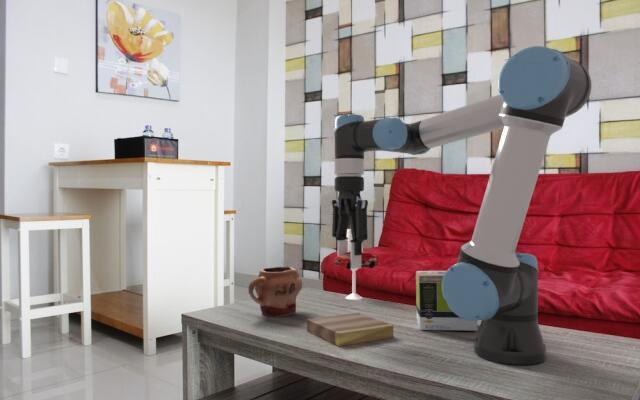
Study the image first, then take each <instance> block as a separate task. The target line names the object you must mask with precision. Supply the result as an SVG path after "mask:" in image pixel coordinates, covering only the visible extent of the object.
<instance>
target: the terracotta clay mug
mask: <svg viewBox="0 0 640 400" xmlns="http://www.w3.org/2000/svg"><path fill="white" fill-rule="evenodd" d="M302 288H303V281H302V279H301V277H300V274H299V272H298V270H297V269H296V268H294V267H292V266H289V267H288V266H278V267H277V266H276V267H267V268H266V267H265V268H262V269H260V271H259V273H258V277H256V278H253V279H252V280H251V281H250V282H249V286H248V294H249V295H250V298H251V300H253V302H255V303H256V304H258V305H259V306H260V307H259V308H260V311H261V314H262V315H264V316H267V317H273V318H275V317H276V318H278V317H286V316H291V315H294V314H296V311H297V302H296V301H297V296H298V295H299V293H301V290H302ZM254 291H255V293H256V295H257V297H256V295H255V294H254Z"/></svg>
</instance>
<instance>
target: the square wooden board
mask: <svg viewBox="0 0 640 400" xmlns="http://www.w3.org/2000/svg"><path fill="white" fill-rule="evenodd" d="M306 331H307V332H308V333H311V334H313V335H314V336H316V337H319V338H321V339H323V340H326V341H327V342H328V343H331V344H333V345H335V346H337V347H341V346H348V345H354V344H361V343H368V342H373V341H379V340H386V339H390V338H391V339H392V338H394V324H391V323H388V322H385V321H382V320H380V319H376V318H374V317H371V316H370V315H369V316H368V315H365V314H363V313H359V312H355V313H347V314H339V315H331V316H324V317H316V318H315V317H314V318H308V319H306Z"/></svg>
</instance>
